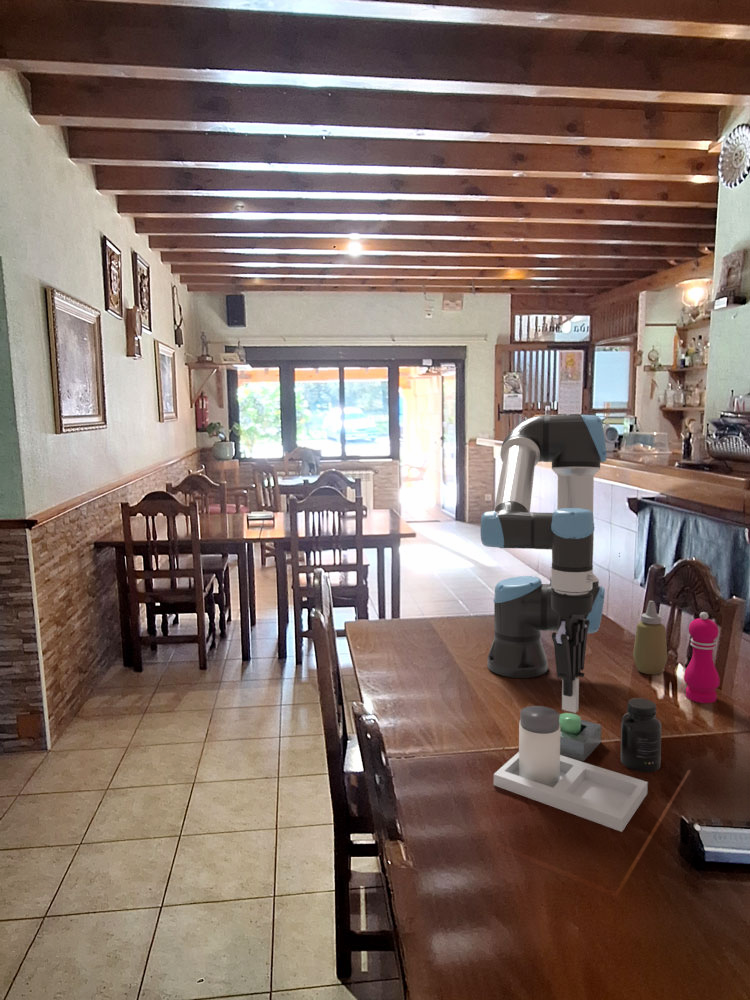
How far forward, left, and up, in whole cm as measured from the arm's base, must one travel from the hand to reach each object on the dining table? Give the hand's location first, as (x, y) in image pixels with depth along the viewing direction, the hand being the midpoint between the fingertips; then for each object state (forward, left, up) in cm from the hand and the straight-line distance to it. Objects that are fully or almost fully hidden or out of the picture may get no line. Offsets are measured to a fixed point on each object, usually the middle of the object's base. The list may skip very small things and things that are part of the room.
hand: (570, 709), depth 127 cm
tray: (+6, -15, -8) cm, 18 cm away
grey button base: (0, 0, -8) cm, 8 cm away
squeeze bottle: (+1, +49, -8) cm, 50 cm away
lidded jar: (0, -15, -7) cm, 16 cm away
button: (0, 0, -5) cm, 5 cm away
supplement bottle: (+13, +1, -8) cm, 15 cm away
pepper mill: (+15, +39, -8) cm, 43 cm away
